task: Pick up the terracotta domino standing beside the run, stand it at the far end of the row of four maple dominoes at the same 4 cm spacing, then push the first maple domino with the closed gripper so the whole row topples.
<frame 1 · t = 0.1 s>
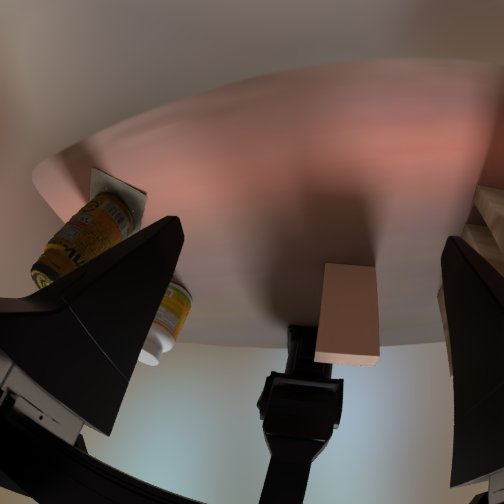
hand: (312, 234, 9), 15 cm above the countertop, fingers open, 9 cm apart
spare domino: (349, 270, 29), on the countertop
domino 4: (496, 196, 19), on the countertop
domino 3: (484, 233, 22), on the countertop
supplement bottle: (174, 293, 39), on the countertop
domino 1: (458, 292, 27), on the countertop
condiment: (115, 208, 31), on the countertop
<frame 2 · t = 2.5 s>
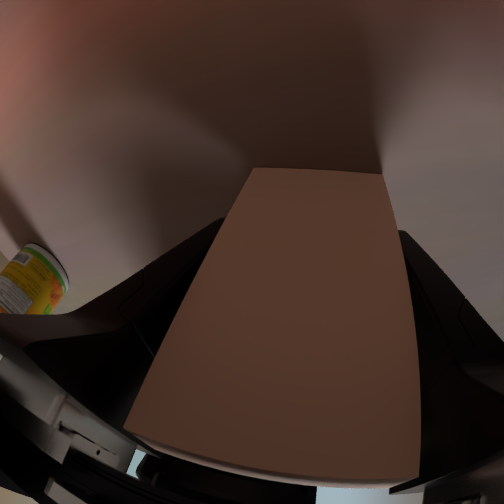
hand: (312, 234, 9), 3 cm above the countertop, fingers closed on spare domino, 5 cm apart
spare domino: (317, 188, 12), on the countertop, touching gripper
supplement bottle: (48, 265, 21), on the countertop
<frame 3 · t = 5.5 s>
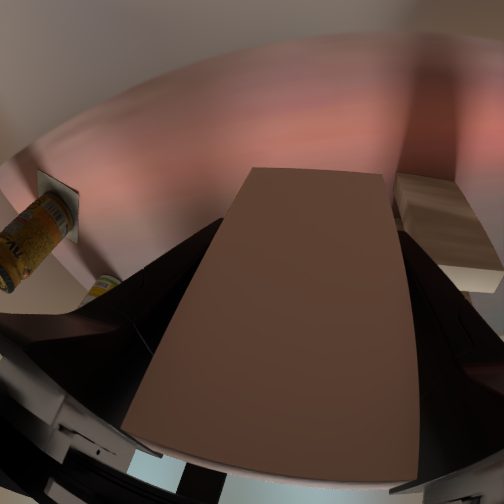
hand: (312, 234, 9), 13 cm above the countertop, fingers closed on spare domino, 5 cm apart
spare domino: (316, 188, 12), point 10 cm above the countertop, touching gripper
domino 4: (424, 186, 20), on the countertop
supplement bottle: (115, 287, 39), on the countertop
condiment: (58, 206, 31), on the countertop
when the fingers open (4 cm above the countertop, at t = 8.7 s): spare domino stays where it is, on the countertop.
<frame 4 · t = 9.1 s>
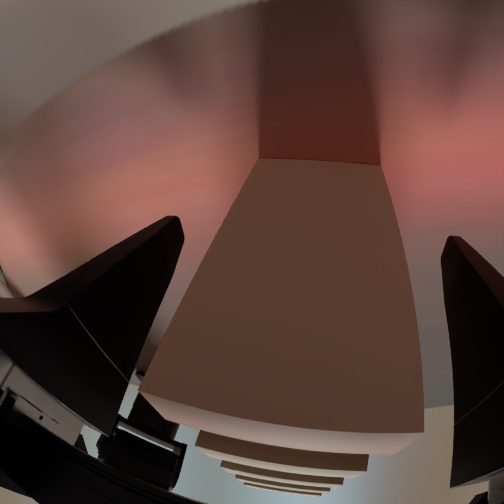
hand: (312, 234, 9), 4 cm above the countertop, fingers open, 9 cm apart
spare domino: (319, 178, 12), on the countertop
domino 4: (317, 253, 15), on the countertop
domino 3: (313, 306, 17), on the countertop
domino 1: (307, 370, 22), on the countertop
domino 2: (310, 343, 20), on the countertop
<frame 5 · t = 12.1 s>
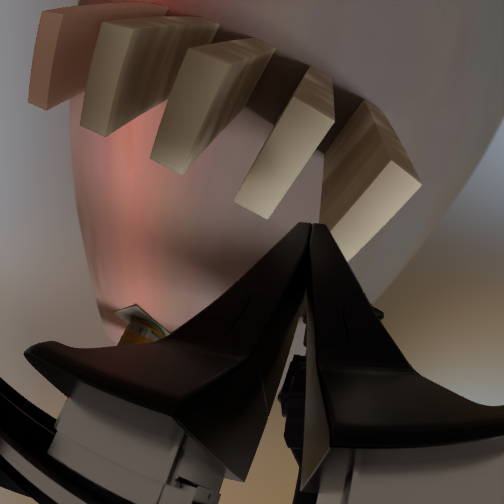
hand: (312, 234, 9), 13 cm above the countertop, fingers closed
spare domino: (148, 34, 16), on the countertop
domino 4: (196, 51, 17), on the countertop
domino 3: (248, 73, 17), on the countertop
domino 1: (353, 133, 19), on the countertop
domino 2: (302, 102, 18), on the countertop
condiment: (145, 324, 43), on the countertop
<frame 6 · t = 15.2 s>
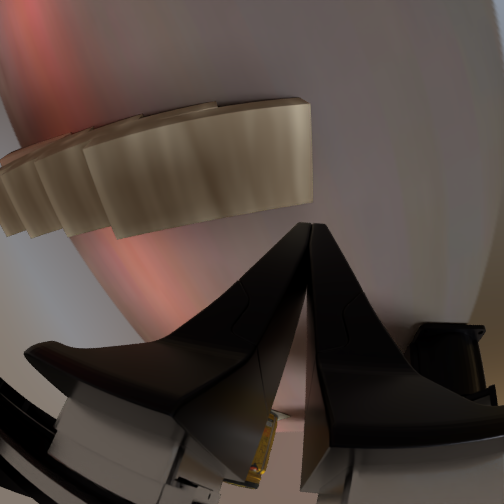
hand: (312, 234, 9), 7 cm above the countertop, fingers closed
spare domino: (79, 165, 18), on the countertop, tilted 90°, touching domino 4
domino 4: (101, 164, 17), point 1 cm above the countertop, tilted 67°, touching domino 3, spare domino
domino 3: (151, 157, 16), point 1 cm above the countertop, tilted 67°, touching domino 2, domino 4
domino 1: (306, 150, 14), point 1 cm above the countertop, tilted 67°, touching domino 2
domino 2: (224, 149, 15), point 1 cm above the countertop, tilted 67°, touching domino 1, domino 3
condiment: (254, 410, 41), on the countertop
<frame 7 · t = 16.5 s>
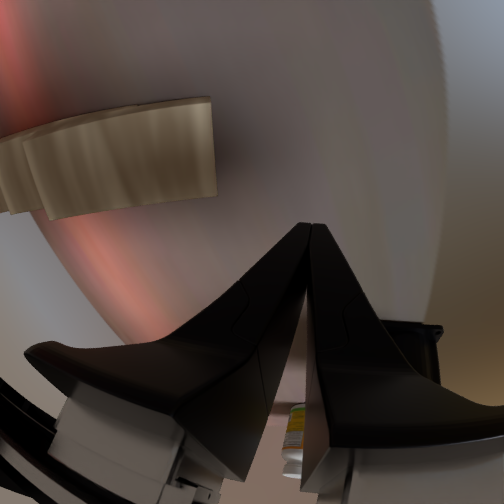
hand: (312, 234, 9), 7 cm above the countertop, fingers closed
supplement bottle: (311, 408, 36), on the countertop
domino 1: (213, 146, 15), point 1 cm above the countertop, tilted 68°, touching domino 2
domino 2: (140, 149, 16), point 1 cm above the countertop, tilted 68°, touching domino 1
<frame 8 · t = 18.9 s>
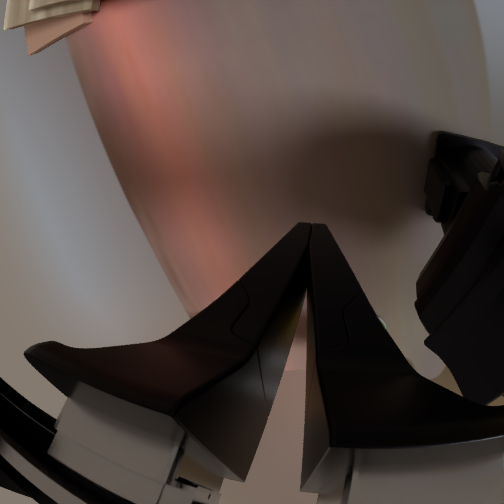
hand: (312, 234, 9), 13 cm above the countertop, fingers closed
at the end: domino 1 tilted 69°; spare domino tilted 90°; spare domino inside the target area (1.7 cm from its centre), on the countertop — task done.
